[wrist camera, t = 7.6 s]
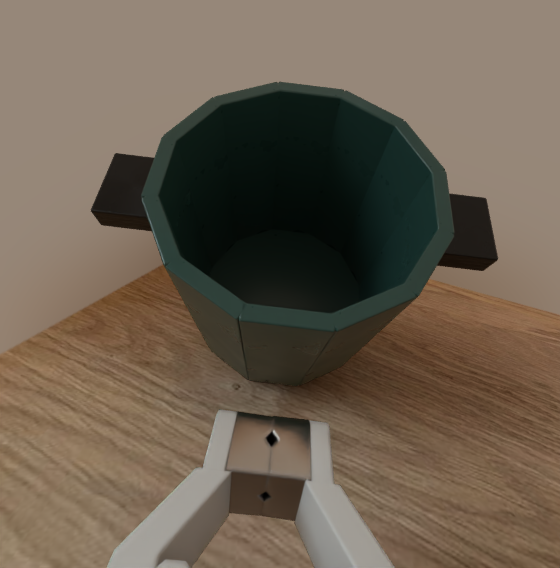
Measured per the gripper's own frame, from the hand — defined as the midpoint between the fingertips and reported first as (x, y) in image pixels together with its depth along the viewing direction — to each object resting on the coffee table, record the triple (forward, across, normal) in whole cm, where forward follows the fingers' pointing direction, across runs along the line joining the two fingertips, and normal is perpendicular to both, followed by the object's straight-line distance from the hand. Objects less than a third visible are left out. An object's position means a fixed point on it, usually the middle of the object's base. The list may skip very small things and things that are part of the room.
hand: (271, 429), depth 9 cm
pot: (+13, 0, +4) cm, 13 cm away
